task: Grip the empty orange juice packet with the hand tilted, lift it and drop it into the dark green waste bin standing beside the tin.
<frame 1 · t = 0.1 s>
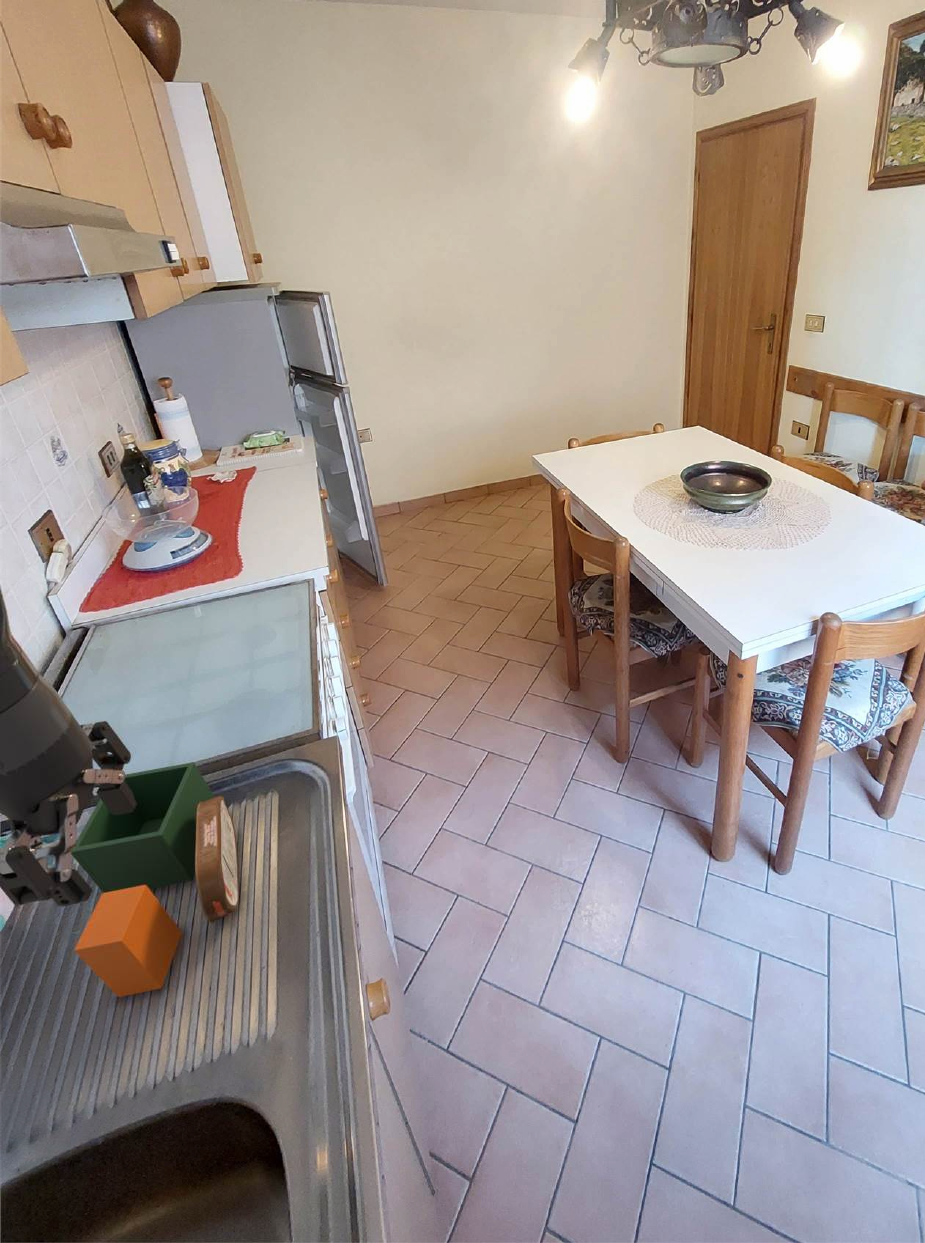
hand: (104, 852, 56), 20 cm above the worktop, tool pointing down, fingers open, 8 cm apart
tin: (230, 874, 74), on the worktop
waste bin: (166, 849, 77), on the worktop
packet: (151, 964, 65), on the worktop
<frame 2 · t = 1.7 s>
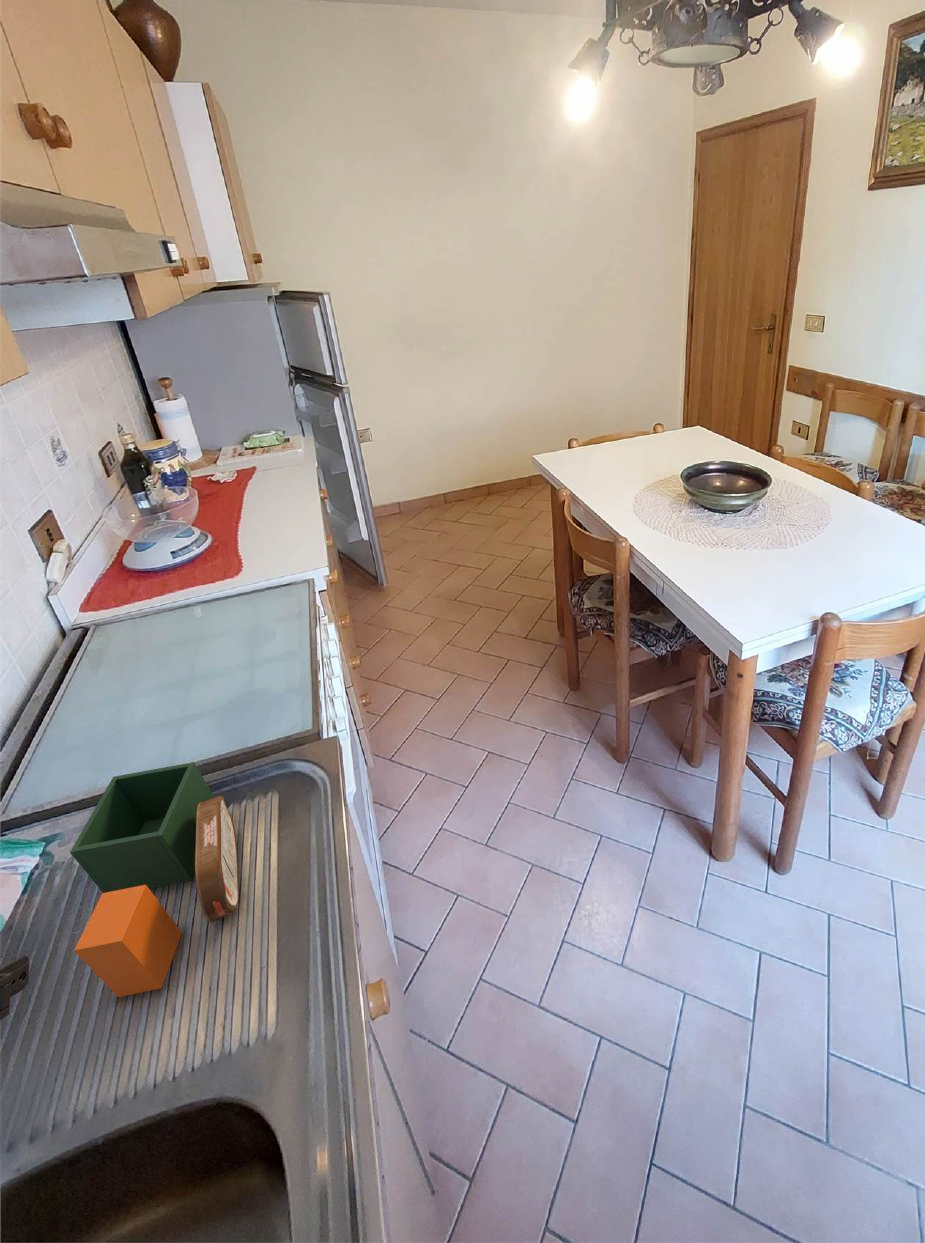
nothing on the worktop moved.
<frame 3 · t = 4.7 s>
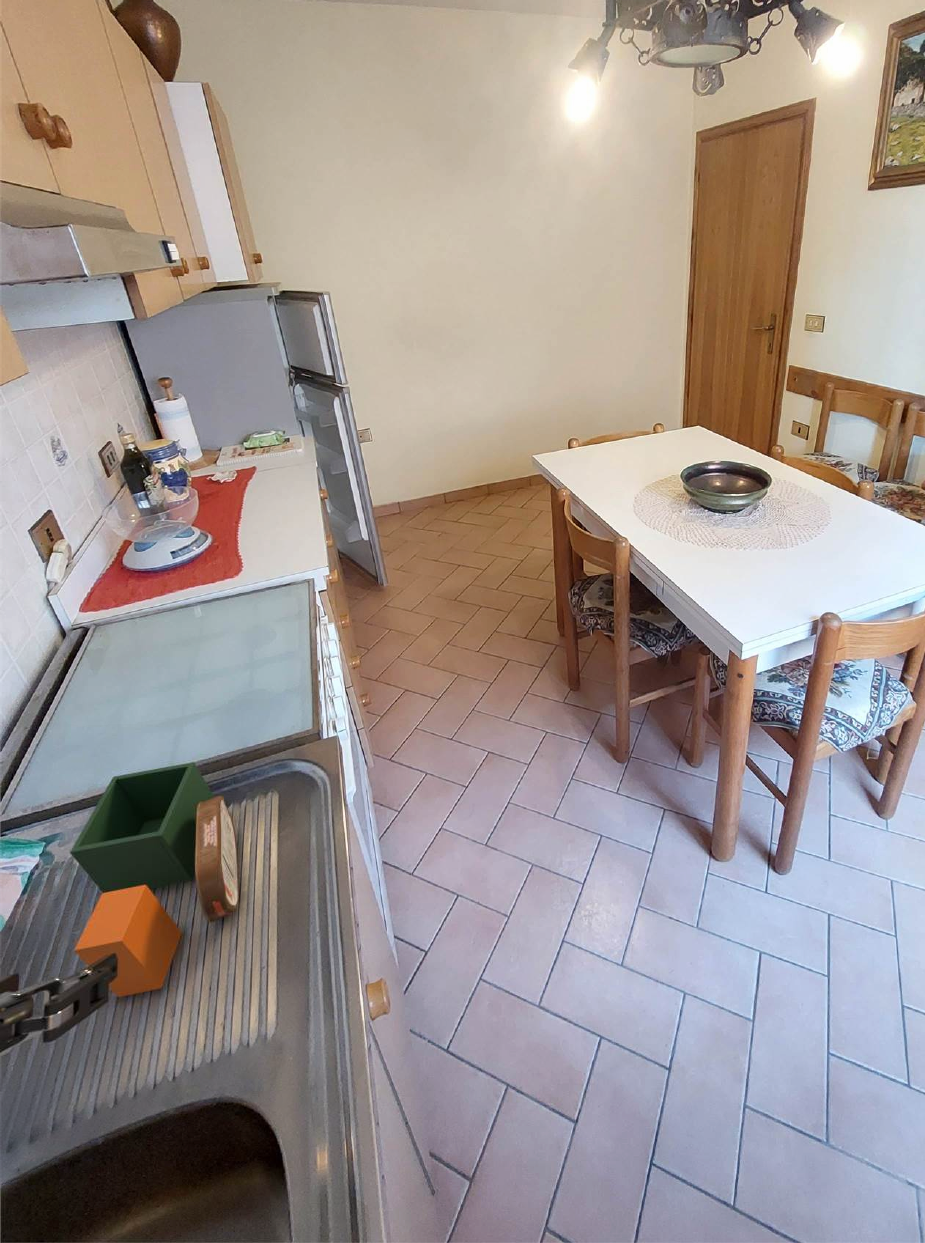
hand: (63, 975, 54), 13 cm above the worktop, tool tilted 45°, fingers open, 8 cm apart
nothing on the worktop moved.
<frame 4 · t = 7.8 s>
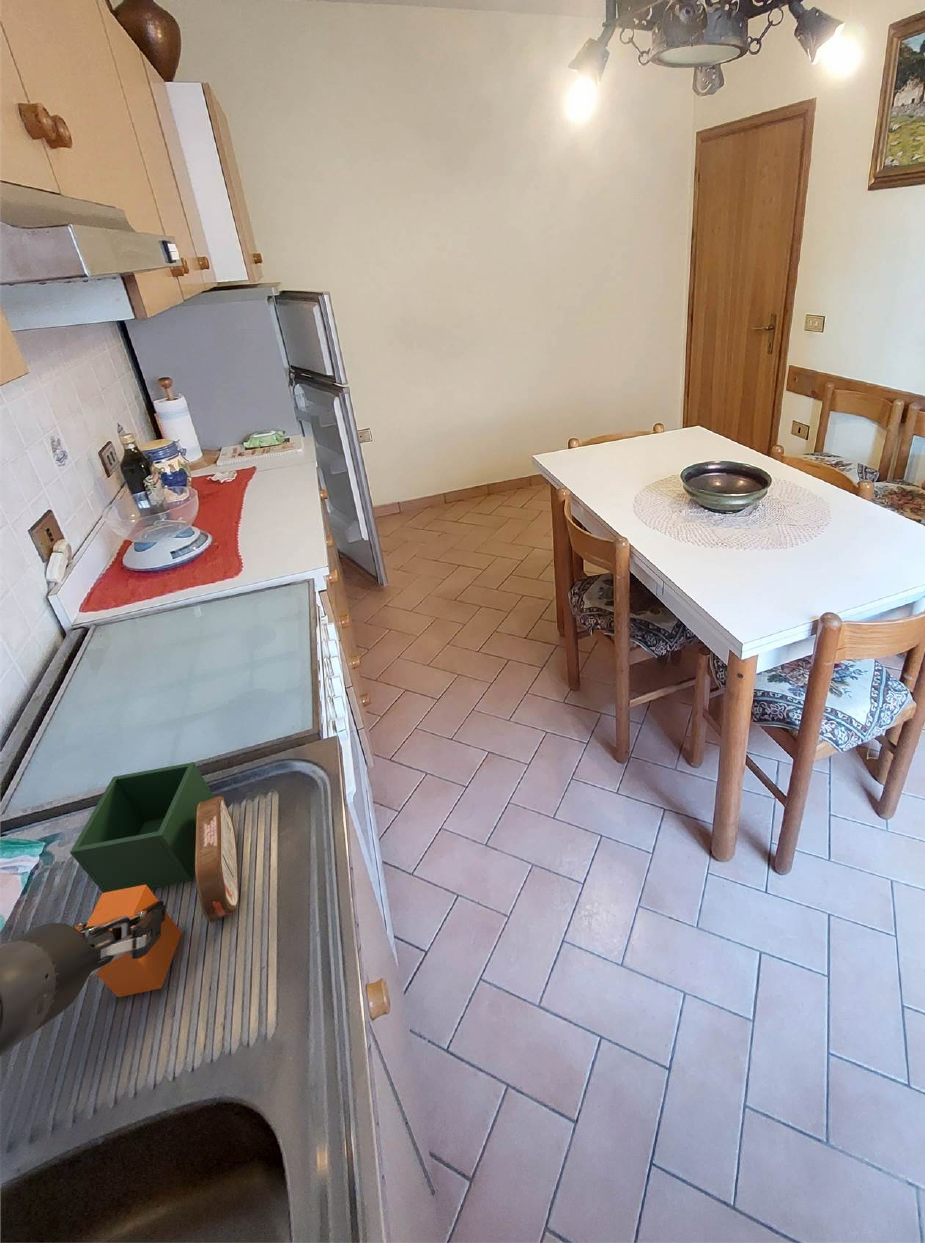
hand: (135, 916, 64), 6 cm above the worktop, tool tilted 45°, fingers closed on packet, 4 cm apart
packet: (151, 963, 65), on the worktop, touching gripper
everything else where it was.
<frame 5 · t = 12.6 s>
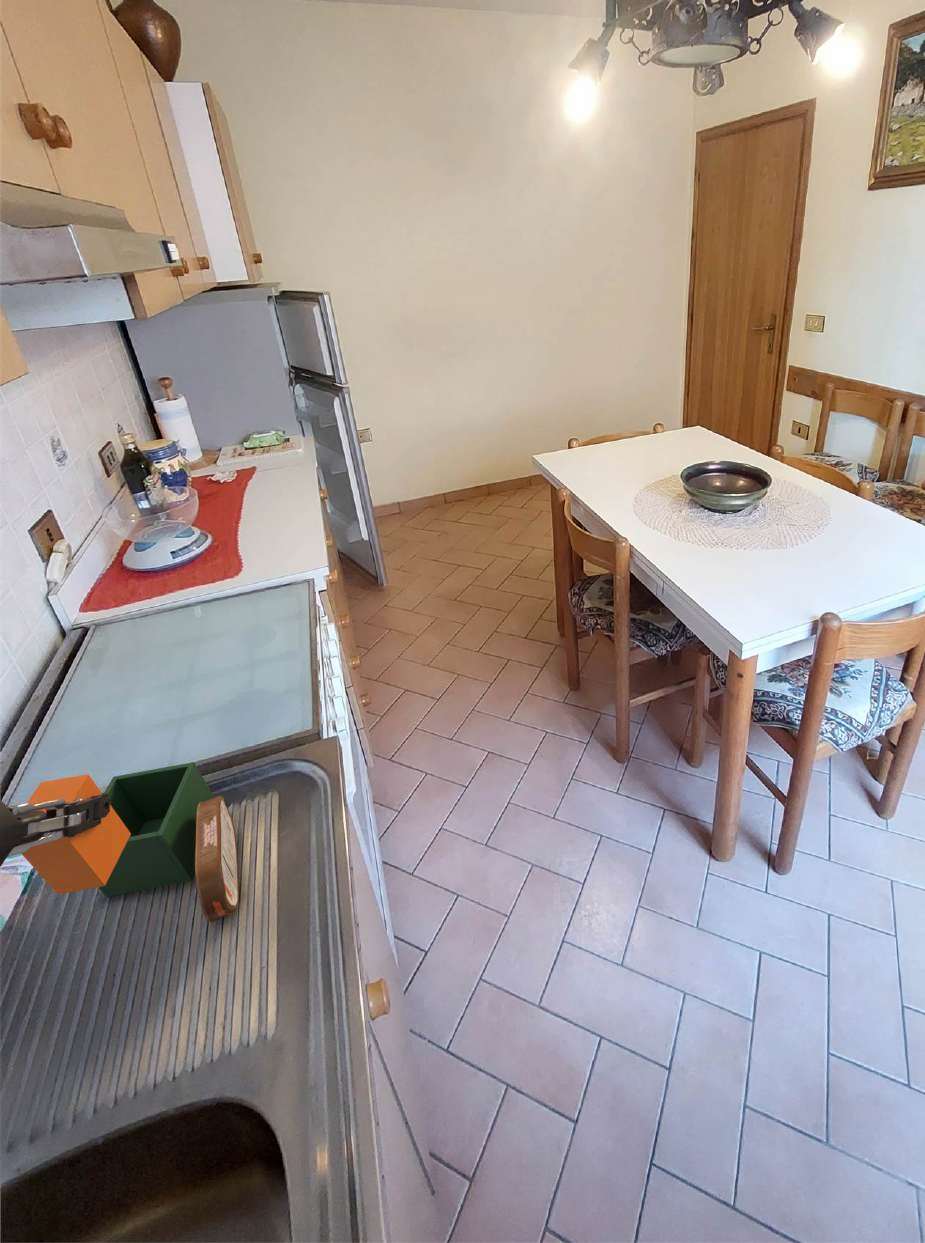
hand: (78, 810, 59), 21 cm above the worktop, tool tilted 45°, fingers closed on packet, 4 cm apart
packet: (95, 863, 61), point 15 cm above the worktop, touching gripper
everything else where it was.
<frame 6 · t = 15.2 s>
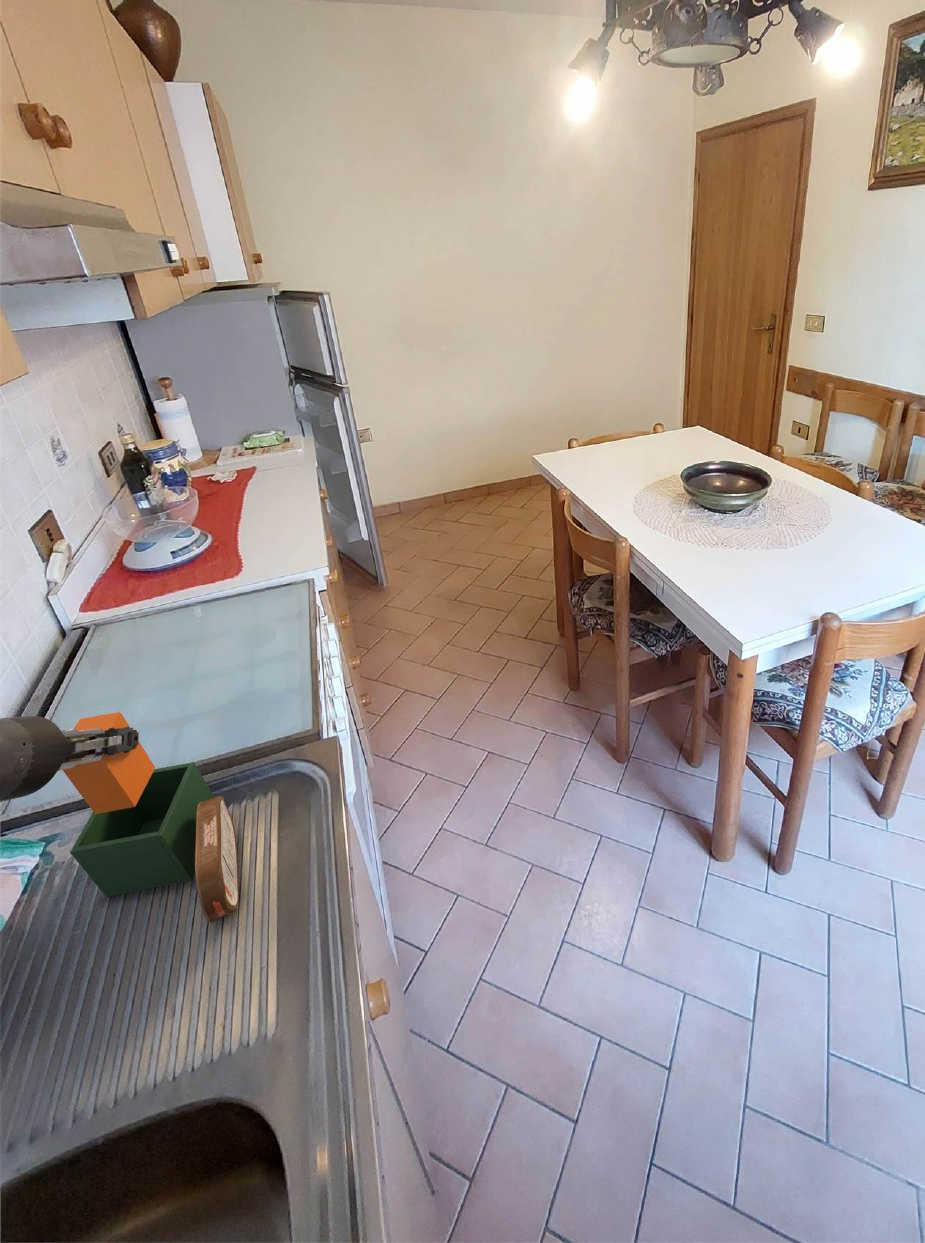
hand: (111, 743, 70), 18 cm above the worktop, tool tilted 45°, fingers closed on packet, 4 cm apart
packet: (126, 790, 71), point 12 cm above the worktop, touching gripper
everything else where it was.
when the fingers open (13 cm above the worktop, at t = 17.3 s): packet drops 6 cm, resting on waste bin.
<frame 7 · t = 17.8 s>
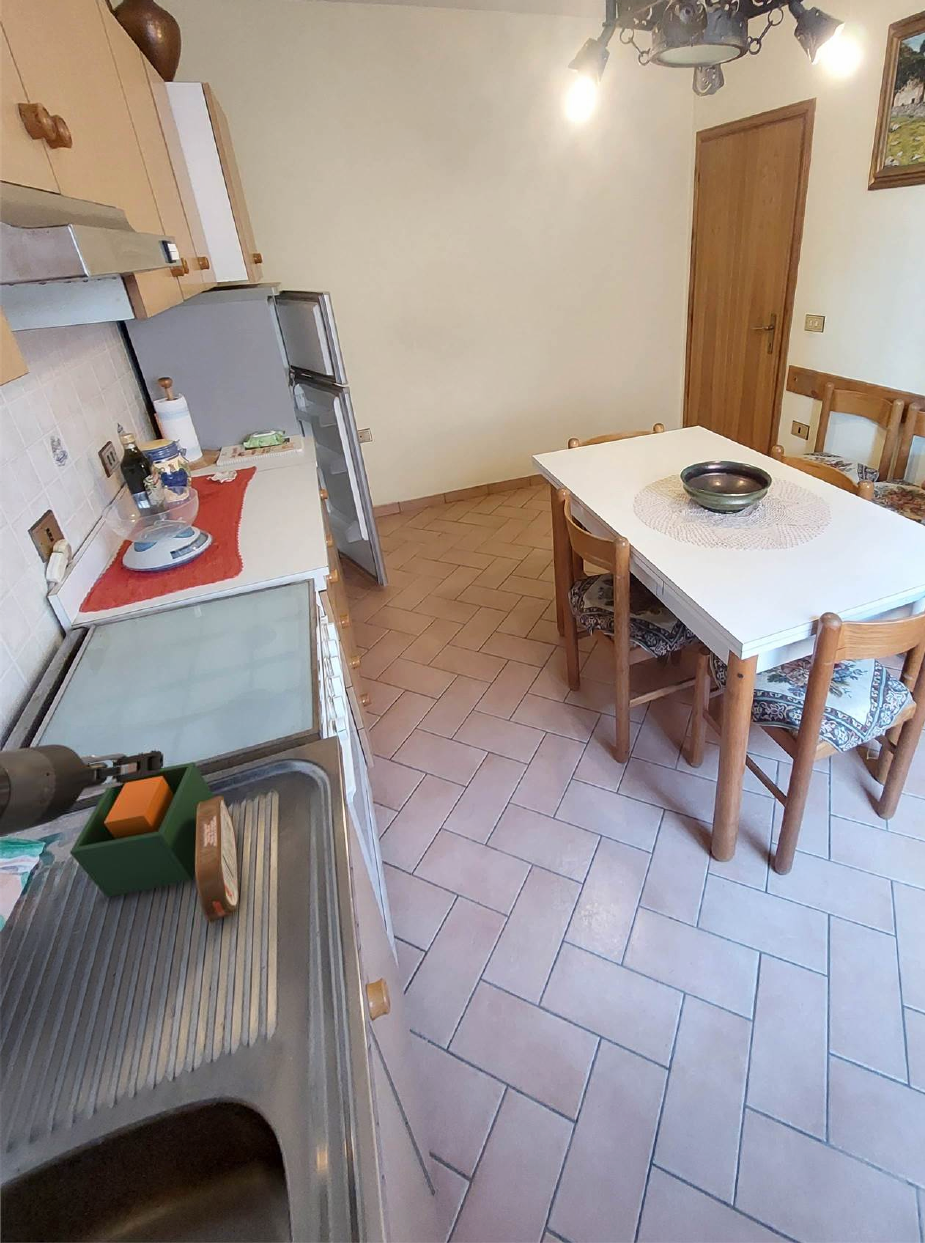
hand: (122, 767, 71), 15 cm above the worktop, tool tilted 45°, fingers open, 8 cm apart
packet: (166, 846, 77), point 1 cm above the worktop, touching waste bin
everything else where it was.
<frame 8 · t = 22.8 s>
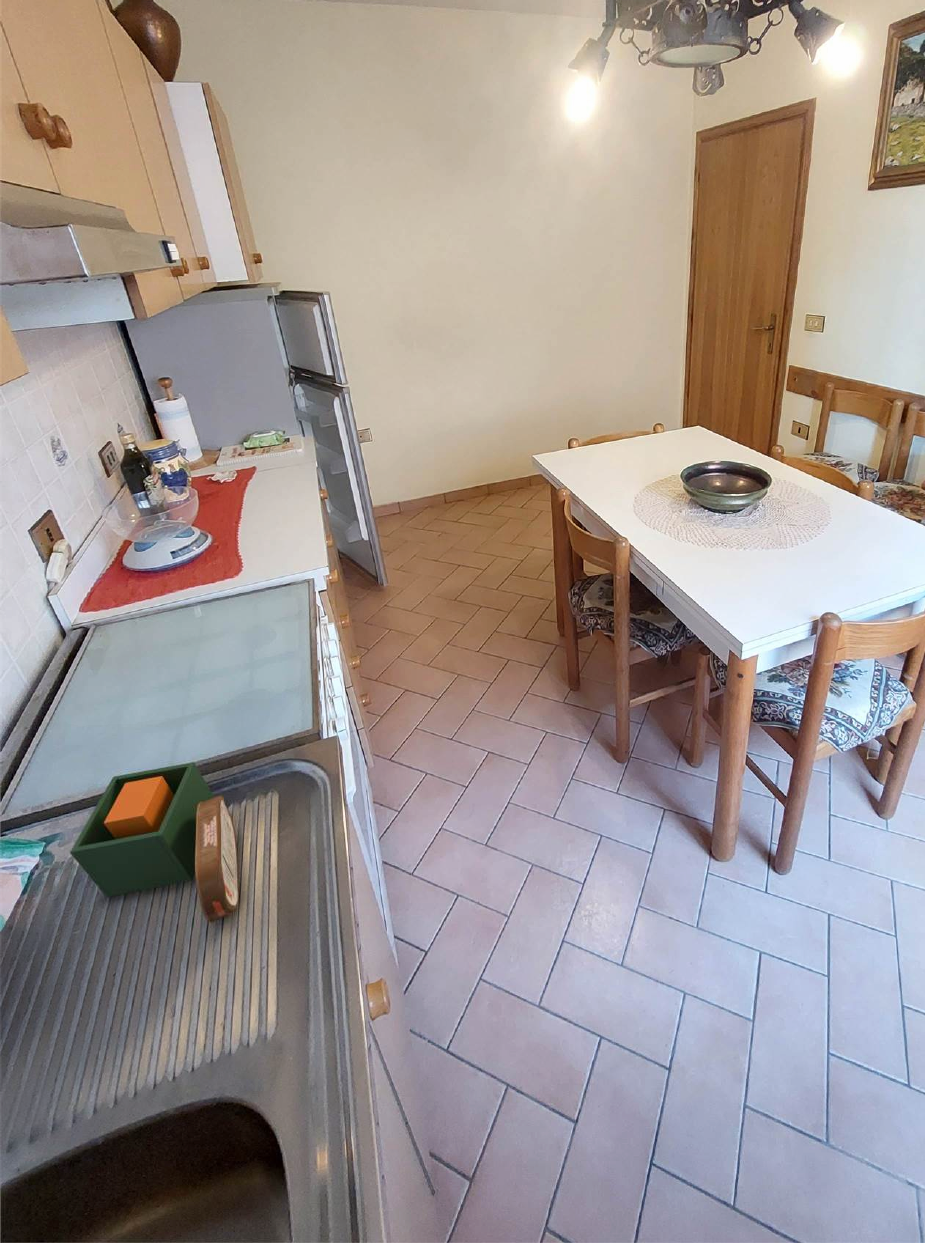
nothing on the worktop moved.
at the end: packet inside the target area in the waste bin (0.2 cm from its centre), point 0.5 cm above the waste bin's base; the gripper is holding nothing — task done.
